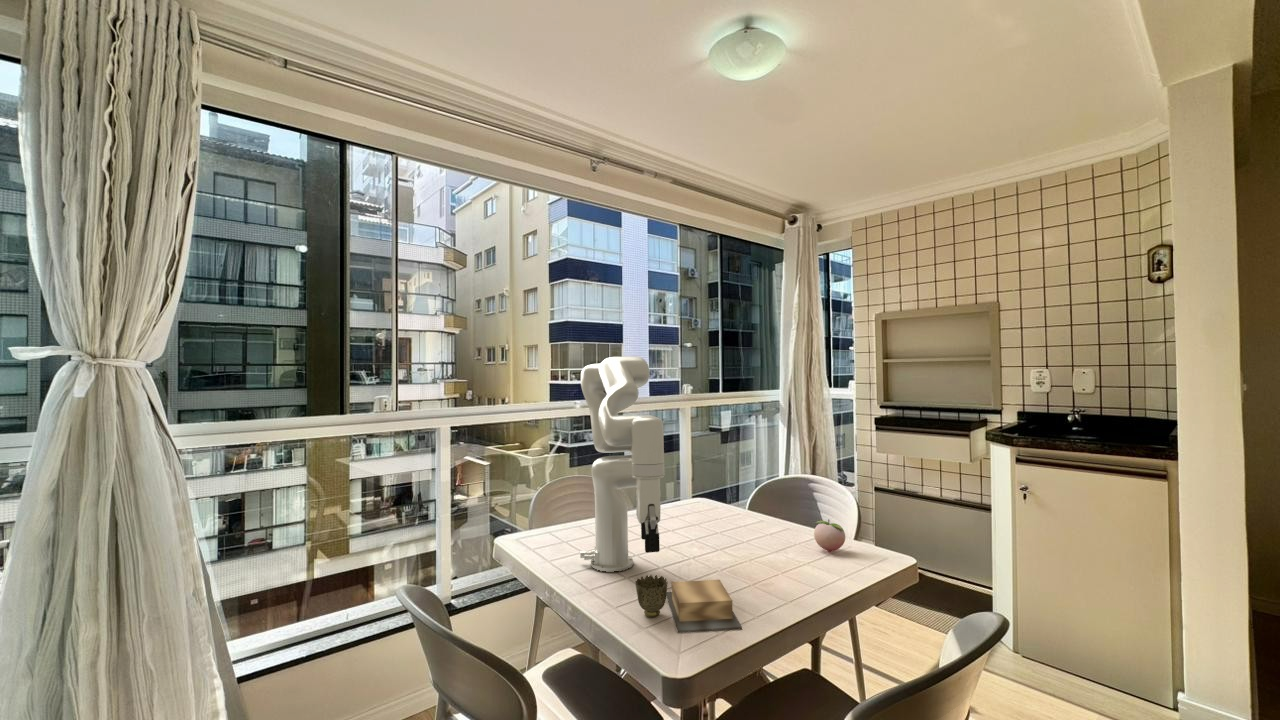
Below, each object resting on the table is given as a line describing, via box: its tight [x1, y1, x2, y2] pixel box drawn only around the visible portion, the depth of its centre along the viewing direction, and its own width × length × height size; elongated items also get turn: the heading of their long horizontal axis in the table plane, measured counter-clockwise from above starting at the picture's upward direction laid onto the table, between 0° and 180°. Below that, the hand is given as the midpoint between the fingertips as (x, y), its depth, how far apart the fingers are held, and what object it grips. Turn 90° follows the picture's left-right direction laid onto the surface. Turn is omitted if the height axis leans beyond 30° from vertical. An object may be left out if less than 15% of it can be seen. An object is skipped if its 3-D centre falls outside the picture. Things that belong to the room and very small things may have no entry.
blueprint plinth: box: [666, 579, 743, 634], centre depth 121 cm, size 14×20×4 cm
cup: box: [634, 574, 669, 619], centre depth 118 cm, size 8×7×8 cm
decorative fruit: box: [813, 519, 846, 553], centre depth 158 cm, size 9×8×10 cm
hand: (650, 545), depth 119 cm, fingers open, 9 cm apart
